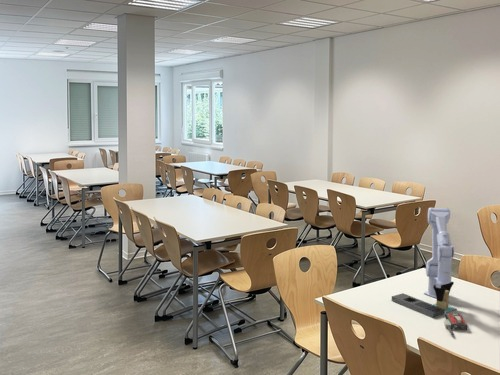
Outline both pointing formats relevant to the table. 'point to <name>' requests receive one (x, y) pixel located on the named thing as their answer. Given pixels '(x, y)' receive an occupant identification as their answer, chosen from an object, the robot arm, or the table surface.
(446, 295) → the oak peg
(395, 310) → the table surface
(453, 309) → the teal mat
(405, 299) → the rack frame
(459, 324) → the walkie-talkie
